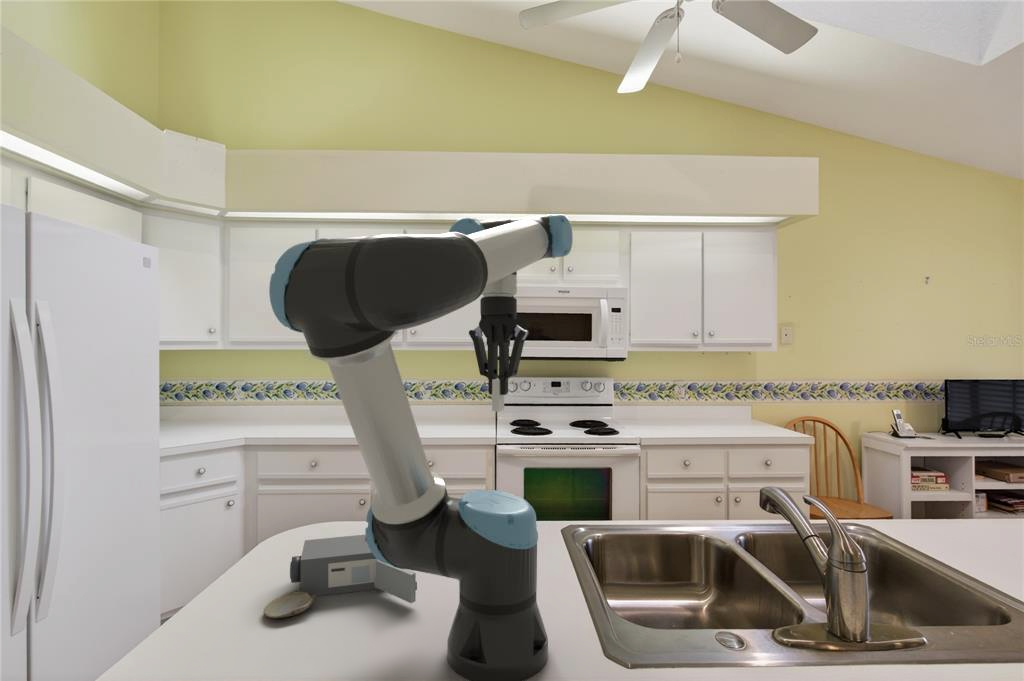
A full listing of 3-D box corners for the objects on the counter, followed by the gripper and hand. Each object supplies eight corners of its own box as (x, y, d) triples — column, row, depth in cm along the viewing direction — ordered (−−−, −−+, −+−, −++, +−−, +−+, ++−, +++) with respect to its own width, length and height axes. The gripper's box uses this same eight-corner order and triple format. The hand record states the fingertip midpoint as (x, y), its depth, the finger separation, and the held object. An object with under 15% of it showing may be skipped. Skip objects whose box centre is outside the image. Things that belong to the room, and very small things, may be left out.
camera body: (390, 587, 104) (390, 547, 104) (288, 600, 99) (288, 557, 99) (387, 566, 113) (387, 529, 113) (293, 576, 108) (293, 537, 108)
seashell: (277, 612, 98) (254, 625, 90) (277, 594, 99) (254, 605, 91) (322, 605, 98) (303, 617, 90) (321, 587, 99) (302, 597, 91)
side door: (379, 583, 103) (379, 556, 103) (417, 600, 97) (417, 572, 97) (372, 586, 102) (373, 559, 102) (410, 603, 96) (411, 575, 96)
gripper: (534, 296, 114) (534, 410, 114) (478, 298, 119) (478, 406, 119) (520, 294, 107) (520, 414, 107) (462, 296, 112) (461, 410, 112)
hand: (498, 410), depth 113 cm, fingers closed
